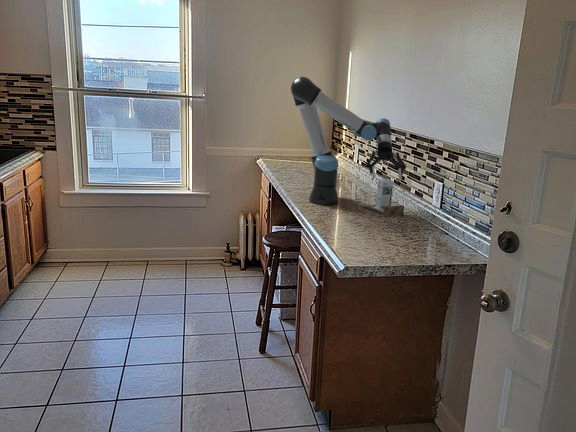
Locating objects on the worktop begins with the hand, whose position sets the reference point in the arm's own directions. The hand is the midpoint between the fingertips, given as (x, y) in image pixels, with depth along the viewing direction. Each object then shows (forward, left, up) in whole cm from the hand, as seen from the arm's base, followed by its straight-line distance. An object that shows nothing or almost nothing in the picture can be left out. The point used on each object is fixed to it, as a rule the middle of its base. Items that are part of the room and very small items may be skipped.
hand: (386, 179), depth 255 cm
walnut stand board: (-3, -3, -15) cm, 16 cm away
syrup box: (-3, -2, -14) cm, 15 cm away
